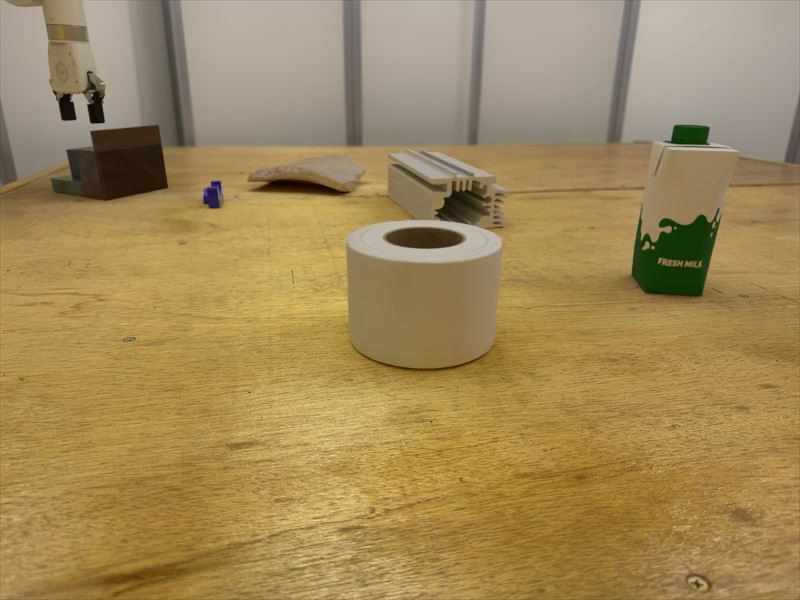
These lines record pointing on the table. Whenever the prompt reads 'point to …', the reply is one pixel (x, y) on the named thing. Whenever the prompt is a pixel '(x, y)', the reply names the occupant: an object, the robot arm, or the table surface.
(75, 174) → the rectangular block
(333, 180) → the pottery shard
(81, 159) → the rack
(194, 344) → the table surface
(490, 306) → the tape roll
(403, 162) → the aluminum extrusion profile
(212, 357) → the table surface
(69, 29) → the robot arm
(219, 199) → the cable holder
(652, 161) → the milk carton
